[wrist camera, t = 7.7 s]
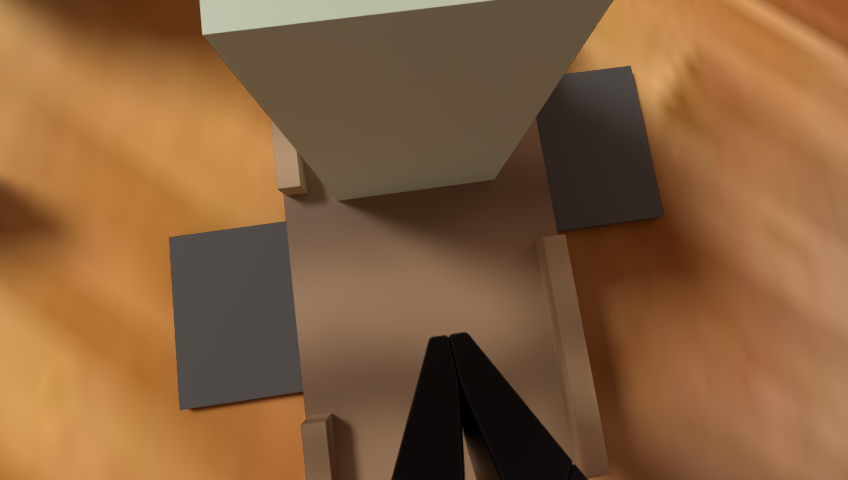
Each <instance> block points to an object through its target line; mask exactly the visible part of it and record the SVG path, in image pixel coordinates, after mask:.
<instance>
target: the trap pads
mask: <svg viewBox="0 0 848 480" xmlns="http://www.w3.org/2000/svg"><path fill="white" fill-rule="evenodd" d="M536 122H537V127H538V132H539V137H540V143H541V148H542V153H543V159H544V164H545V169H546V175H547V180H548V185H549V191H550V196H551V201H552V207H553V212H554V217H555V222H556V228H557V232H560V231H567V230H574V229H581V228H588V227H595V226H602V225H609V224H617V223H624V222H631V221H638V220H645V219H652V218H659V217H662V216H664V212H663V208H662V204H661V199H660V195H659V190H658V186H657V181H656V177H655V172H654V168H653V163H652V159H651V154H650V150H649V146H648V141H647V137H646V132H645V128H644V123H643V119H642V114H641V110H640V105H639V101H638V96H637V92H636V88H635V83H634V79H633V74H632V70H631V66H625V67H617V68H609V69H602V70H594V71H586V72H578V73H570V74H564V75H563V77H562V78H561V80H560V81H559V83H558V84H557V86H556V87H555V89H554V90H553V92H552V93H551V95H550V96H549V98H548V99H547V101H546V102H545V104H544V105H543V107H542V109H541V110H540V112H539V113H538V115H537V116H536ZM169 244H170V260H171V277H172V293H173V309H174V325H175V342H176V358H177V374H178V390H179V407H180V410H184V409H190V408H197V407H204V406H210V405H217V404H223V403H230V402H237V401H243V400H250V399H256V398H263V397H270V396H276V395H283V394H290V393H296V392H303V385H302V375H301V365H300V355H299V345H298V335H297V325H296V315H295V305H294V295H293V285H292V275H291V265H290V255H289V245H288V235H287V225H286V221H285V222H278V223H271V224H263V225H256V226H249V227H241V228H234V229H227V230H219V231H212V232H204V233H197V234H190V235H182V236H175V237H169Z"/></svg>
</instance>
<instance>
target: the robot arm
mask: <svg viewBox="0 0 848 480" xmlns="http://www.w3.org/2000/svg"><path fill="white" fill-rule="evenodd" d="M463 435H464V439H465V442H466V446H467V450H468V453H469V456H470V460H471V463H472V466H473V470H474V473H475V476H476V480H588V479H587V478H586V476H585V475H584V474H583V473H582V472H581V470H580V469H579V468H578V467H577V465H575V464H573V465H572V460H571V458H570V457H569V456H568V455H567V453H566V452H565V451H564V450H563V449H562V447H561V446H560V445H559V444H558V442H557V441H556V440H555V439H554V438H553V436H552V435H551V434H550V433H549V431H548V430H547V429H546V428H545V427H544V425H543V424H542V423H541V422H540V420H539V419H538V418H537V417H536V416H535V414H534V413H533V412H532V411H531V409H530V408H529V407H528V406H527V405H526V403H525V402H524V401H523V400H522V398H521V397H520V396H519V395H518V394H517V392H516V391H515V390H514V389H513V387H512V386H511V385H510V384H509V383H508V381H507V380H506V379H505V378H504V376H503V375H502V374H501V373H500V372H499V370H498V369H497V368H496V367H495V365H494V364H493V363H492V362H491V360H490V359H489V358H488V357H487V356H486V354H485V353H484V352H483V351H482V349H481V348H480V347H479V346H478V345H477V343H476V342H475V341H474V340H473V338H472V337H471V336H470V335H469V334H468V333H466V332H461V333H454V334H450V335H449V338H448V336H447V335H441V336H434V337H431V338H430V339H429V341H428V344H427V348H426V352H425V355H424V359H423V363H422V366H421V370H420V374H419V378H418V381H417V385H416V389H415V392H414V396H413V400H412V404H411V407H410V411H409V415H408V419H407V422H406V426H405V430H404V433H403V437H402V441H401V445H400V448H399V452H398V456H397V459H396V463H395V467H394V471H393V474H392V478H391V480H465V462H464V444H463Z"/></svg>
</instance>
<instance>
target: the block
mask: <svg viewBox="0 0 848 480" xmlns="http://www.w3.org/2000/svg"><path fill="white" fill-rule="evenodd" d="M612 1H613V0H200V12H201V25H202V35H203V36H204V38H205V39H206V40H207V41H208V42H209V44H210V45H211V46H212V47H213V49H214V50H215V51H216V52H217V53H218V55H219V56H220V57H221V58H222V60H223V61H224V62H225V63H226V65H227V66H228V67H229V68H230V69H231V71H232V72H233V73H234V74H235V76H236V77H237V78H238V79H239V81H240V82H241V83H242V84H243V85H244V87H245V88H246V89H247V90H248V92H249V93H250V94H251V95H252V96H253V98H254V99H255V100H256V101H257V103H258V104H259V105H260V106H261V108H262V109H263V110H264V111H265V112H266V114H267V115H268V116H269V117H270V119H271V120H272V121H273V122H274V124H275V125H276V126H277V127H278V128H279V130H280V131H281V132H282V133H283V135H284V136H285V137H286V138H287V139H288V141H289V142H290V143H291V144H292V146H293V147H294V148H295V149H296V151H297V152H298V153H299V154H300V155H301V157H302V158H303V159H304V160H305V162H306V163H307V164H308V165H309V166H310V168H311V169H312V170H313V171H314V173H315V174H316V175H317V176H318V178H319V179H320V180H321V181H322V182H323V184H324V185H325V186H326V187H327V189H328V190H329V191H330V192H331V194H332V195H333V196H334V197H335V198H336V200H337V201H340V200H348V199H355V198H362V197H370V196H377V195H385V194H392V193H399V192H407V191H414V190H422V189H429V188H437V187H444V186H451V185H459V184H466V183H474V182H481V181H488V180H494V179H495V178H496V176H497V175H498V173H499V172H500V170H501V169H502V167H503V166H504V164H505V163H506V161H507V160H508V158H509V157H510V155H511V154H512V152H513V151H514V149H515V148H516V146H517V145H518V143H519V142H520V140H521V139H522V137H523V136H524V134H525V133H526V131H527V130H528V128H529V127H530V125H531V124H532V122H533V121H534V119H535V118H536V116H537V115H538V113H539V112H540V110H541V109H542V107H543V105H544V104H545V102H546V101H547V99H548V98H549V96H550V95H551V93H552V92H553V90H554V89H555V87H556V86H557V84H558V83H559V81H560V80H561V78H562V77H563V75H564V74H565V72H566V71H567V69H568V68H569V66H570V65H571V63H572V62H573V60H574V59H575V57H576V56H577V54H578V53H579V51H580V50H581V48H582V47H583V45H584V44H585V42H586V41H587V39H588V38H589V36H590V35H591V33H592V32H593V30H594V29H595V27H596V26H597V24H598V23H599V21H600V20H601V18H602V17H603V15H604V14H605V12H606V11H607V9H608V8H609V6H610V4H611V3H612Z"/></svg>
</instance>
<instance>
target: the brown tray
mask: <svg viewBox="0 0 848 480" xmlns="http://www.w3.org/2000/svg"><path fill="white" fill-rule="evenodd" d="M271 128H272V138H273V148H274V158H275V168H276V179H277V189H278V190H280V191H281V192H282V193H283V195H284V205H285V215H286V225H287V235H288V245H289V255H290V265H291V275H292V285H293V295H294V305H295V315H296V325H297V335H298V345H299V355H300V365H301V375H302V385H303V395H304V405H305V415H306V420H305V421H304V422H303V423H302V424H301V433H302V443H303V453H304V463H305V473H306V480H391V478H392V474H393V471H394V467H395V463H396V459H397V456H398V452H399V448H400V445H401V441H402V437H403V433H404V430H405V426H406V422H407V419H408V415H409V411H410V407H411V404H412V400H413V396H414V392H415V389H416V385H417V381H418V378H419V374H420V370H421V366H422V363H423V359H424V355H425V352H426V348H427V344H428V341H429V339H430V338H431V337H434V336H441V335H447V336H448V338H449V335H450V334H454V333H461V332H466V333H468V334H469V335H470V336H471V337H472V338H473V340H474V341H475V342H476V343H477V345H478V346H479V347H480V348H481V349H482V351H483V352H484V353H485V354H486V356H487V357H488V358H489V359H490V360H491V362H492V363H493V364H494V365H495V367H496V368H497V369H498V370H499V372H500V373H501V374H502V375H503V376H504V378H505V379H506V380H507V381H508V383H509V384H510V385H511V386H512V387H513V389H514V390H515V391H516V392H517V394H518V395H519V396H520V397H521V398H522V400H523V401H524V402H525V403H526V405H527V406H528V407H529V408H530V409H531V411H532V412H533V413H534V414H535V416H536V417H537V418H538V419H539V420H540V422H541V423H542V424H543V425H544V427H545V428H546V429H547V430H548V431H549V433H550V434H551V435H552V436H553V438H554V439H555V440H556V441H557V442H558V444H559V445H560V446H561V447H562V449H563V450H564V451H565V452H566V453H567V455H568V456H569V457H570V458H571V460H572V465H573V464H575V465H577V467H578V468H579V469H580V470H581V472H582V473H583V474H584V475H585V476H586V478H592V477H598V476H604V475H610V474H611V472H610V466H609V461H608V456H607V451H606V445H605V440H604V435H603V430H602V424H601V419H600V414H599V409H598V403H597V398H596V393H595V388H594V382H593V377H592V372H591V367H590V361H589V356H588V351H587V346H586V340H585V335H584V330H583V325H582V320H581V314H580V309H579V304H578V299H577V293H576V288H575V283H574V278H573V272H572V267H571V262H570V257H569V251H568V246H567V241H566V236H565V234H563V235H558V233H557V228H556V222H555V217H554V212H553V207H552V201H551V196H550V191H549V185H548V180H547V175H546V169H545V164H544V159H543V153H542V148H541V143H540V137H539V132H538V127H537V122H536V118H535V119H534V121H533V122H532V124H531V125H530V127H529V128H528V130H527V131H526V133H525V134H524V136H523V137H522V139H521V140H520V142H519V143H518V145H517V146H516V148H515V149H514V151H513V152H512V154H511V155H510V157H509V158H508V160H507V161H506V163H505V164H504V166H503V167H502V169H501V170H500V172H499V173H498V175H497V176H496V178H495V179H494V180H488V181H481V182H474V183H466V184H459V185H451V186H444V187H437V188H429V189H422V190H414V191H407V192H399V193H392V194H385V195H377V196H370V197H362V198H355V199H348V200H340V201H337V200H336V198H335V197H334V196H333V195H332V194H331V192H330V191H329V190H328V189H327V187H326V186H325V185H324V184H323V182H322V181H321V180H320V179H319V178H318V176H317V175H316V174H315V173H314V171H313V170H312V169H311V168H310V166H309V165H308V164H307V163H306V162H305V160H304V159H303V158H302V157H301V155H300V154H299V153H298V152H297V151H296V149H295V148H294V147H293V146H292V144H291V143H290V142H289V141H288V139H287V138H286V137H285V136H284V135H283V133H282V132H281V131H280V130H279V128H278V127H277V126H276V125H275V124H274V122H273V121H272V120H271ZM463 444H464V462H465V480H476V476H475V473H474V470H473V466H472V463H471V460H470V456H469V453H468V450H467V446H466V442H465V439H464V435H463Z"/></svg>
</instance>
